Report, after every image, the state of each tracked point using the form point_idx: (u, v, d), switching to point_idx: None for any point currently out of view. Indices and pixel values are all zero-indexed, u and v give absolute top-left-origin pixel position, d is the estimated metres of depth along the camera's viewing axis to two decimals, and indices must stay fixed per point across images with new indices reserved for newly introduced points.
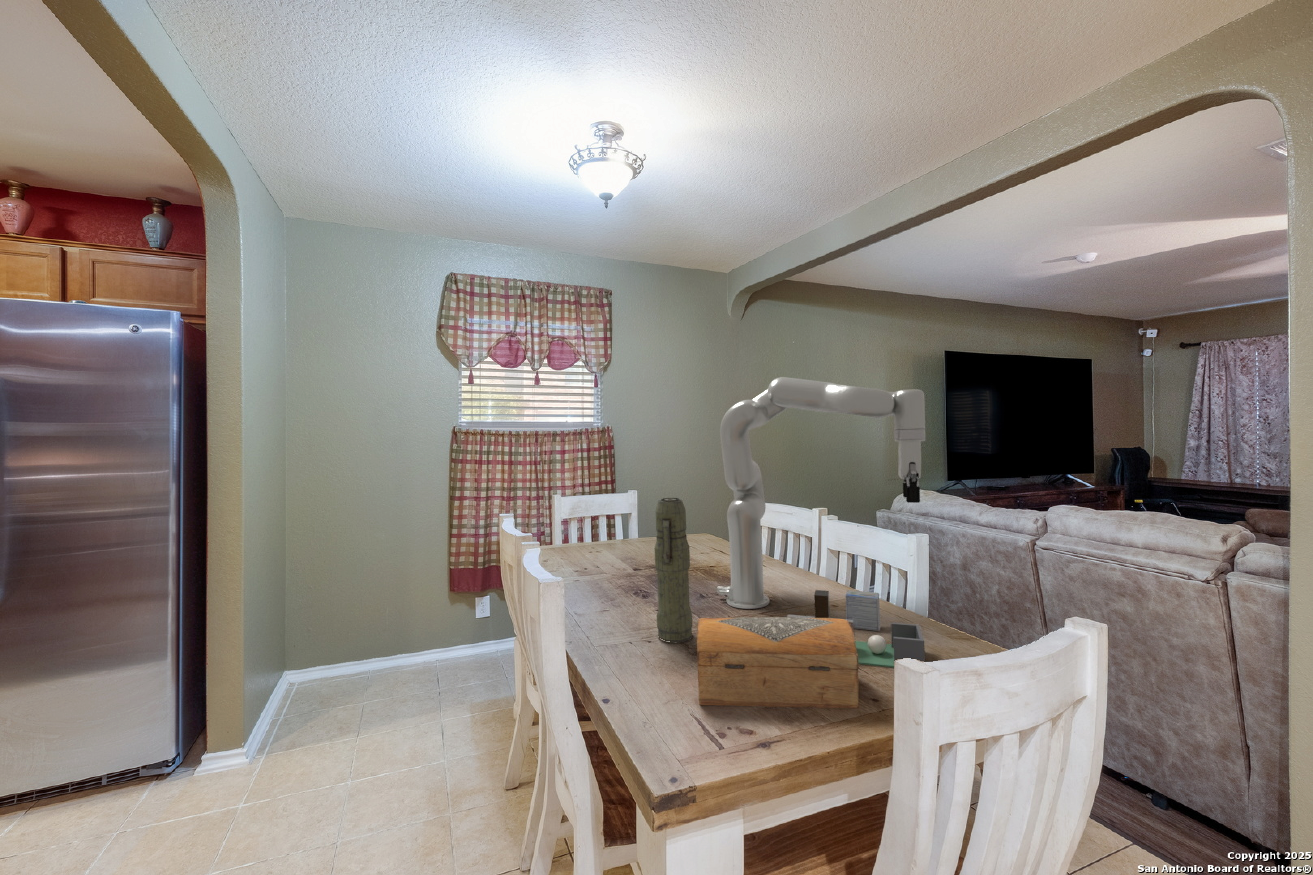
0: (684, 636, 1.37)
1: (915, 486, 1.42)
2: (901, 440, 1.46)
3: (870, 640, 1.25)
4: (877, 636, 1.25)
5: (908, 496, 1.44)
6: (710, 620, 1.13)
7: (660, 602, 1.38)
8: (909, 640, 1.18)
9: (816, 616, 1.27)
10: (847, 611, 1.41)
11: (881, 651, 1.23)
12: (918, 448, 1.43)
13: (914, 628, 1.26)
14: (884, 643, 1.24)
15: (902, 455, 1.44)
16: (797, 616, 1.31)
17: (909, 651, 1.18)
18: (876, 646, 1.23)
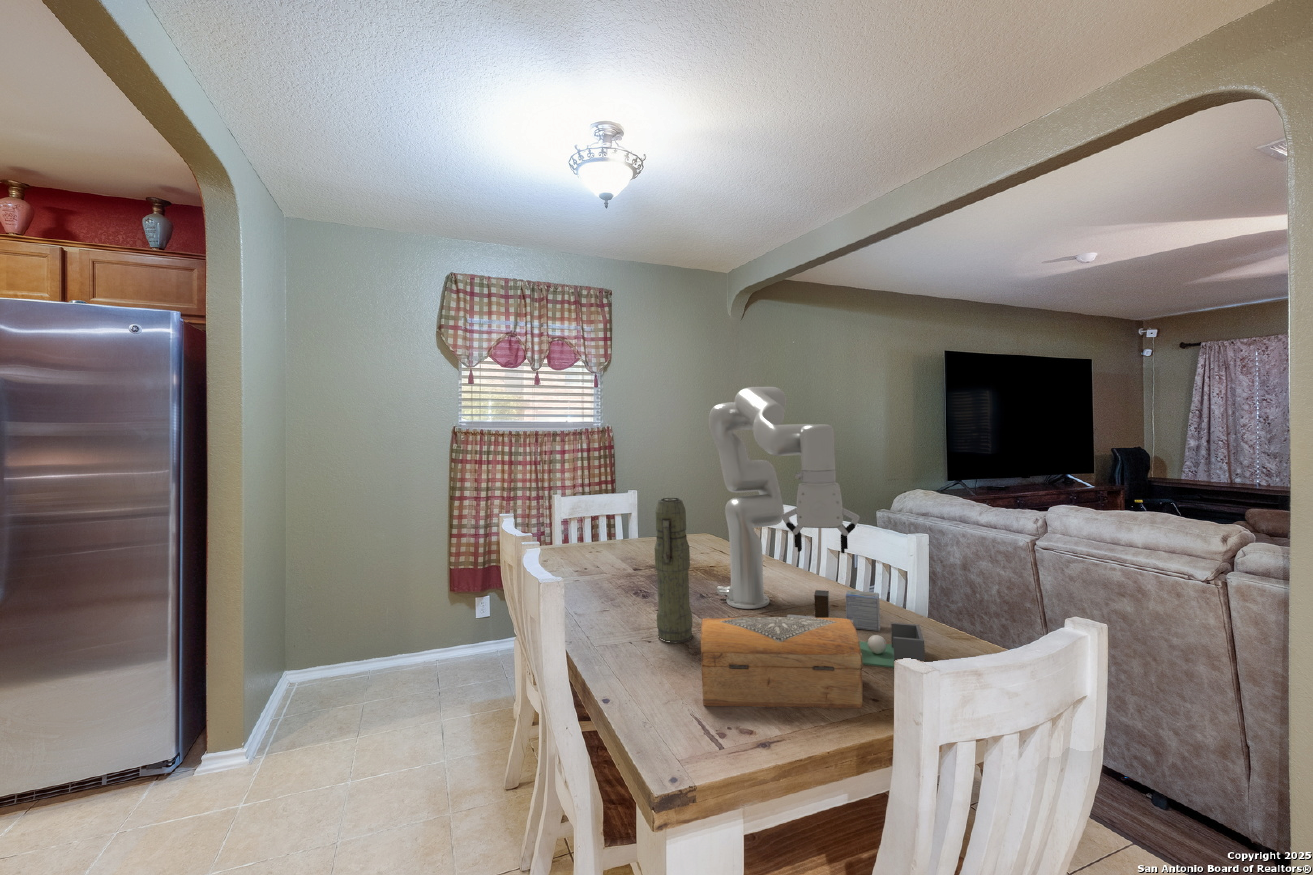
0: (684, 636, 1.37)
1: None
2: (831, 483, 1.25)
3: (870, 640, 1.25)
4: (877, 636, 1.25)
5: (844, 546, 1.25)
6: (713, 620, 1.13)
7: (660, 602, 1.38)
8: (909, 640, 1.18)
9: (816, 616, 1.27)
10: (847, 611, 1.41)
11: (881, 651, 1.23)
12: None
13: (914, 628, 1.26)
14: (884, 643, 1.24)
15: (839, 500, 1.24)
16: (797, 616, 1.31)
17: (909, 651, 1.18)
18: (876, 646, 1.23)
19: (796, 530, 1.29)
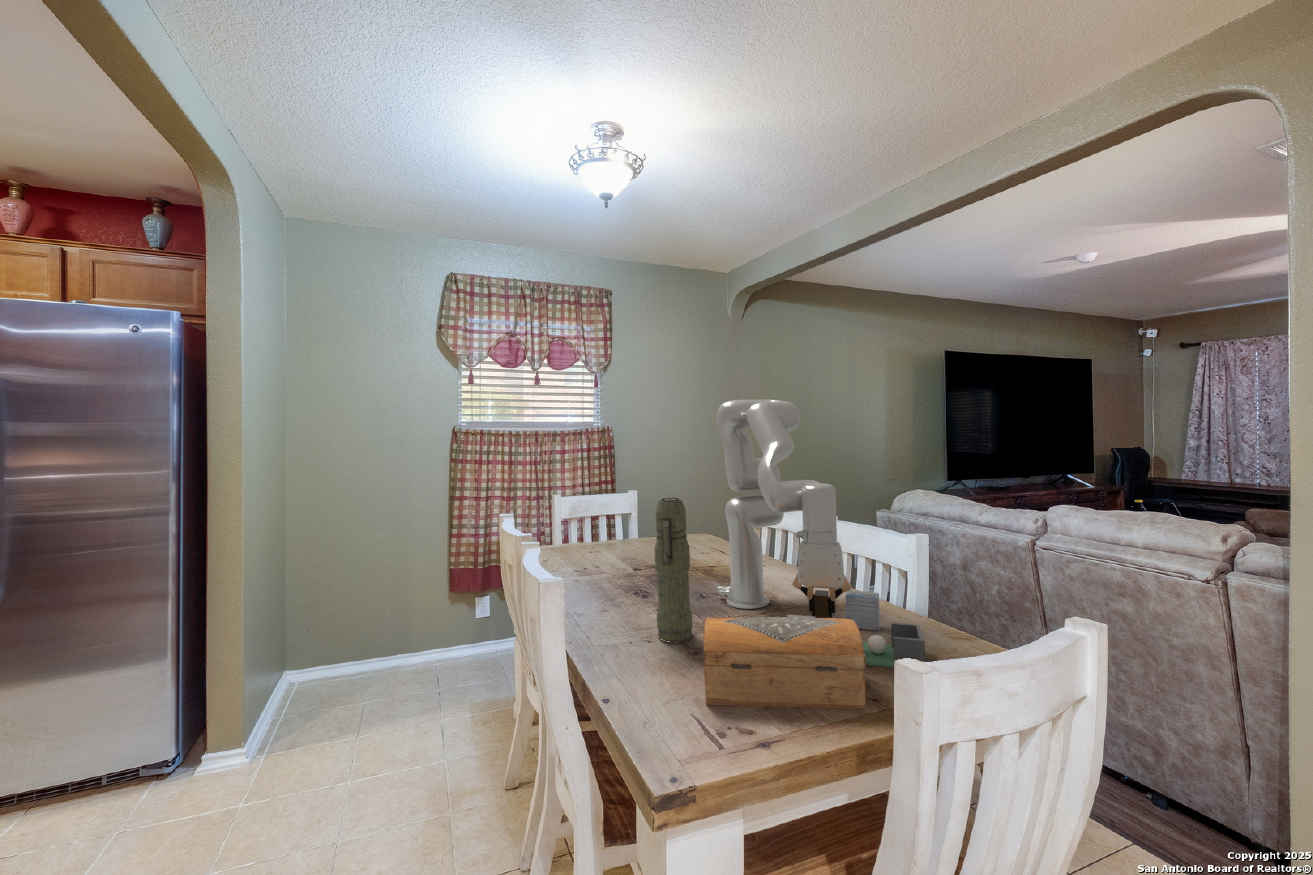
0: (684, 636, 1.37)
1: None
2: (833, 544, 1.25)
3: (870, 640, 1.25)
4: (877, 636, 1.25)
5: (831, 611, 1.27)
6: (716, 620, 1.13)
7: (660, 602, 1.38)
8: (909, 640, 1.18)
9: (816, 616, 1.27)
10: (847, 611, 1.41)
11: (881, 651, 1.23)
12: None
13: (914, 628, 1.26)
14: (884, 643, 1.24)
15: (841, 561, 1.25)
16: (797, 616, 1.31)
17: (909, 651, 1.18)
18: (876, 646, 1.23)
19: (809, 594, 1.28)
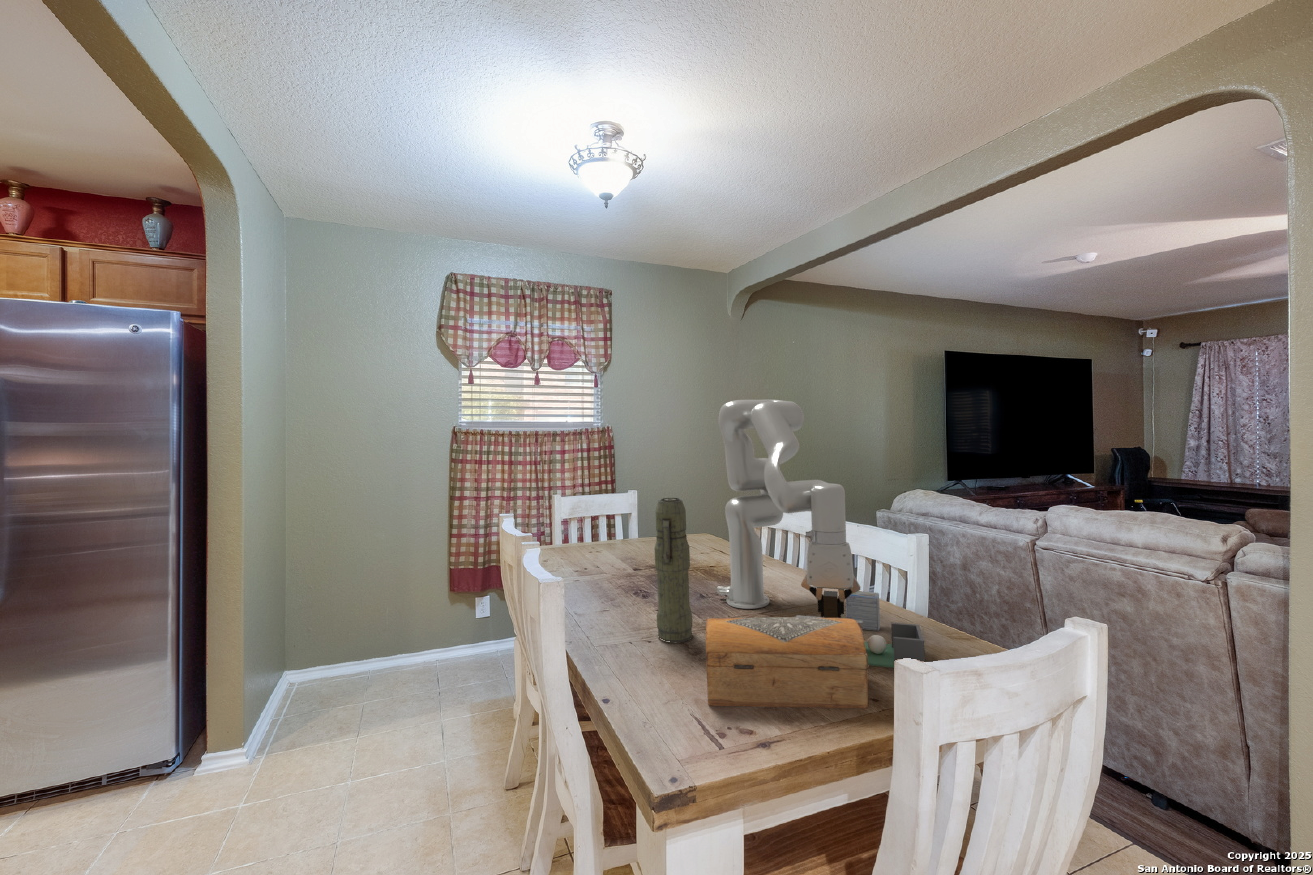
0: (684, 636, 1.37)
1: None
2: (842, 544, 1.25)
3: (870, 640, 1.25)
4: (877, 636, 1.25)
5: (840, 612, 1.26)
6: (718, 620, 1.13)
7: (660, 602, 1.38)
8: (909, 640, 1.18)
9: (825, 617, 1.27)
10: (847, 611, 1.41)
11: (881, 651, 1.23)
12: None
13: (914, 628, 1.26)
14: (884, 643, 1.24)
15: (850, 561, 1.24)
16: (806, 617, 1.30)
17: (909, 651, 1.18)
18: (876, 646, 1.23)
19: (818, 595, 1.28)
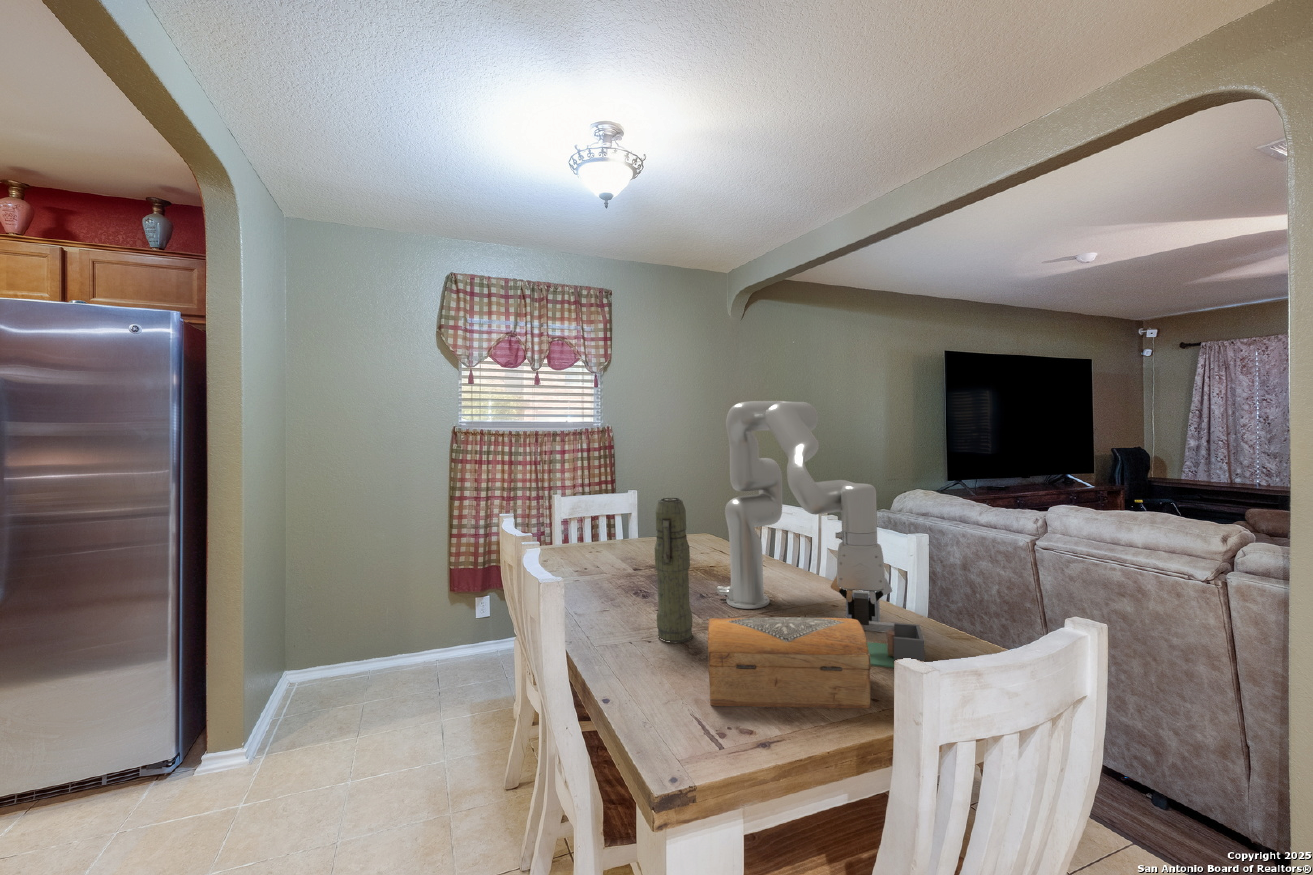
0: (684, 636, 1.37)
1: None
2: (874, 545, 1.22)
3: None
4: None
5: (871, 614, 1.24)
6: (720, 620, 1.13)
7: (660, 602, 1.38)
8: (909, 640, 1.18)
9: (856, 619, 1.24)
10: (847, 611, 1.41)
11: None
12: None
13: (914, 628, 1.26)
14: None
15: (882, 563, 1.22)
16: None
17: (909, 651, 1.18)
18: None
19: (849, 597, 1.25)
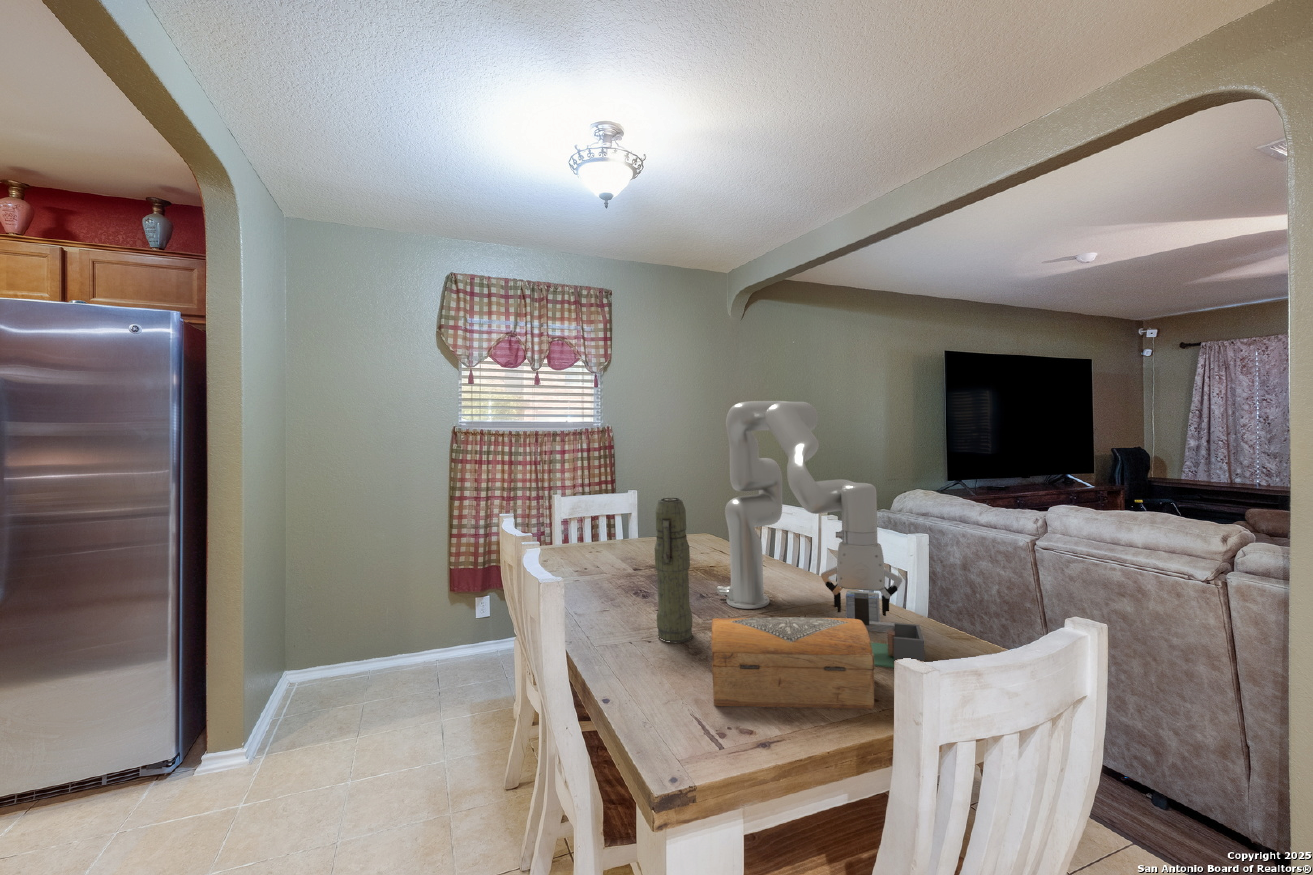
0: (684, 636, 1.37)
1: None
2: (874, 545, 1.22)
3: None
4: None
5: (885, 609, 1.23)
6: (724, 620, 1.13)
7: (660, 602, 1.38)
8: (909, 640, 1.18)
9: None
10: (847, 611, 1.41)
11: None
12: None
13: (914, 628, 1.26)
14: None
15: (882, 562, 1.22)
16: None
17: (909, 651, 1.18)
18: None
19: (836, 590, 1.26)
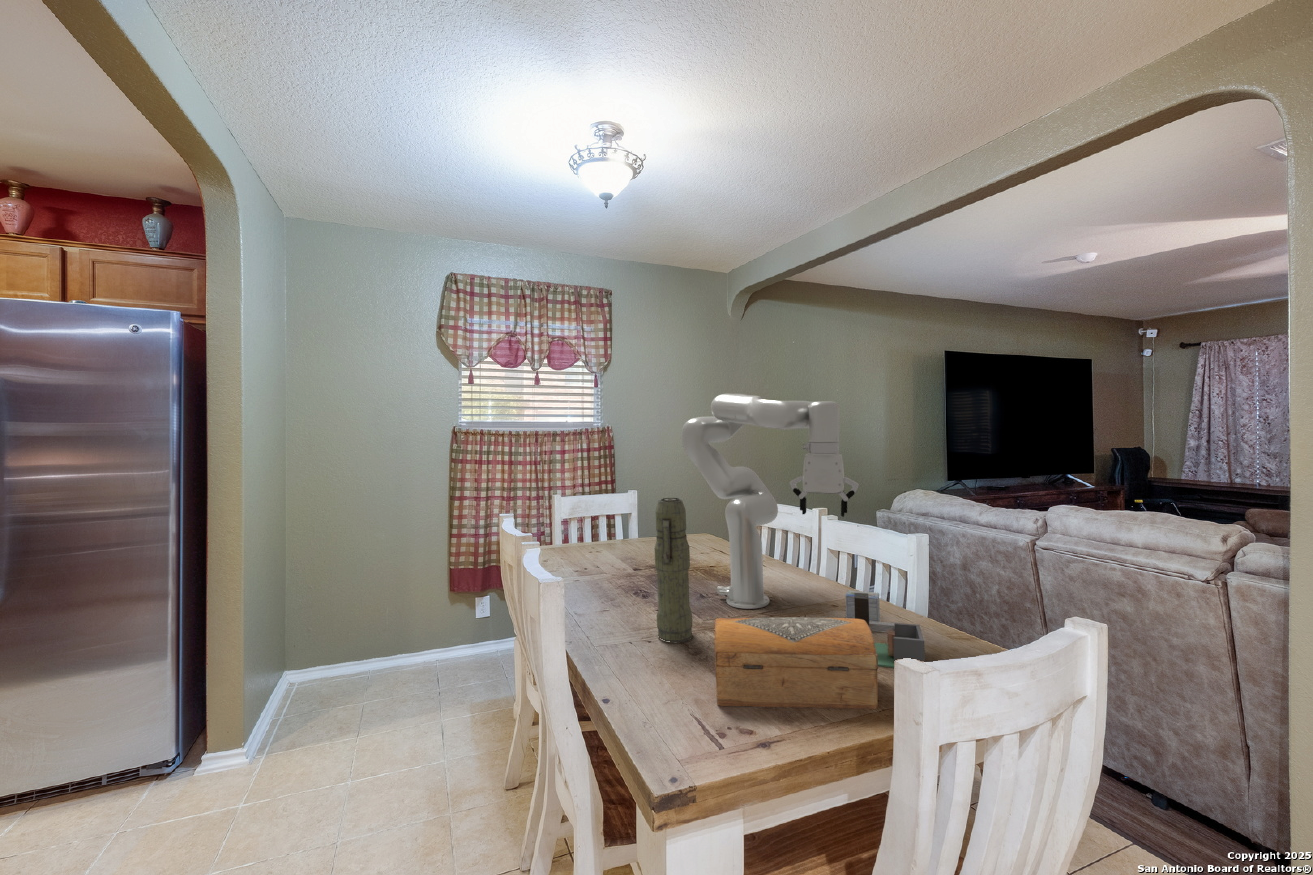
0: (684, 636, 1.37)
1: None
2: (835, 453, 1.40)
3: None
4: None
5: (844, 510, 1.41)
6: (727, 620, 1.13)
7: (660, 602, 1.38)
8: (909, 640, 1.18)
9: None
10: (847, 611, 1.41)
11: None
12: None
13: (914, 628, 1.26)
14: None
15: (841, 469, 1.39)
16: None
17: (909, 651, 1.18)
18: None
19: (802, 495, 1.44)
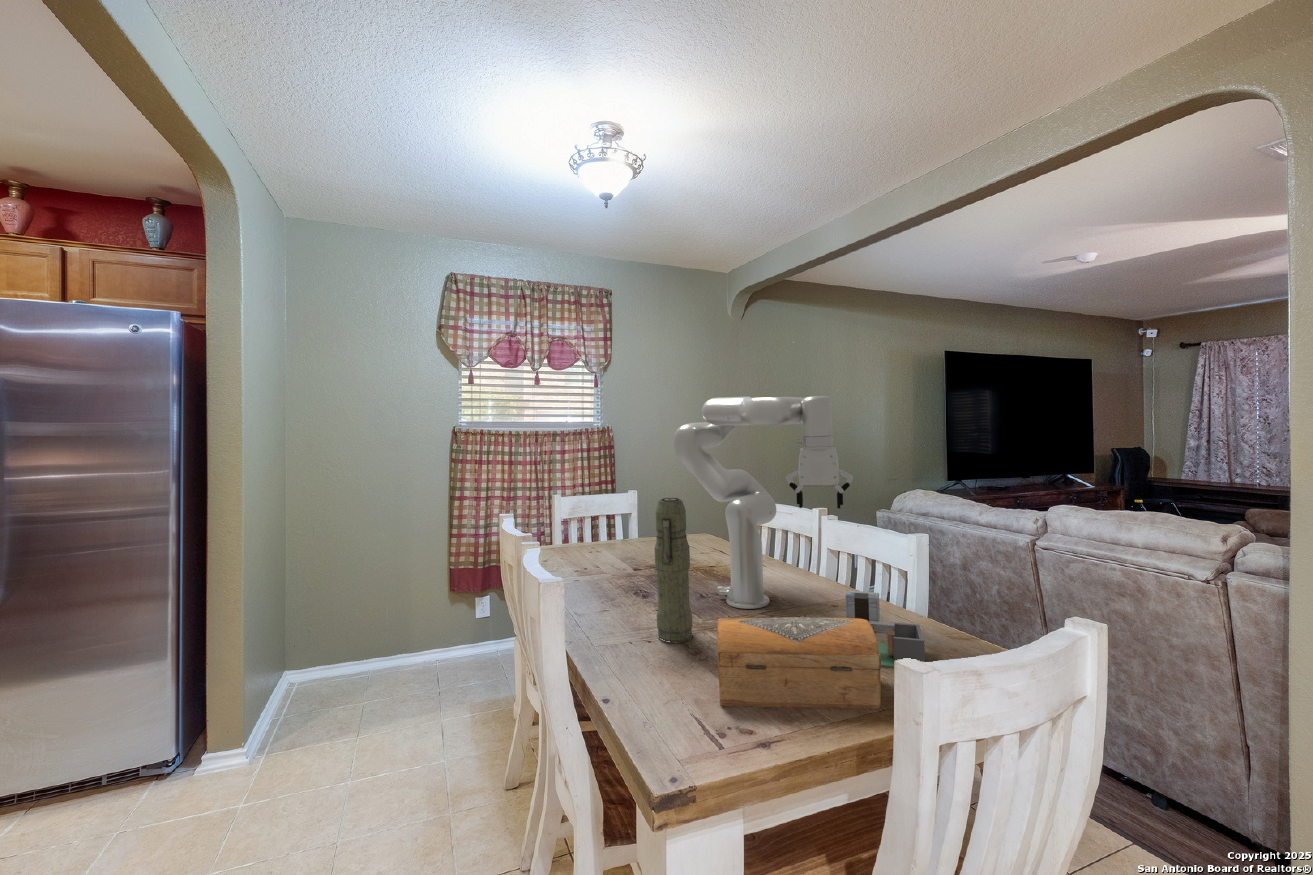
0: (684, 636, 1.37)
1: None
2: (829, 447, 1.43)
3: None
4: None
5: (840, 502, 1.44)
6: (729, 620, 1.13)
7: (660, 602, 1.38)
8: (909, 640, 1.18)
9: None
10: (847, 611, 1.41)
11: None
12: None
13: (914, 628, 1.26)
14: None
15: (836, 461, 1.42)
16: None
17: (909, 651, 1.18)
18: None
19: (798, 489, 1.47)
